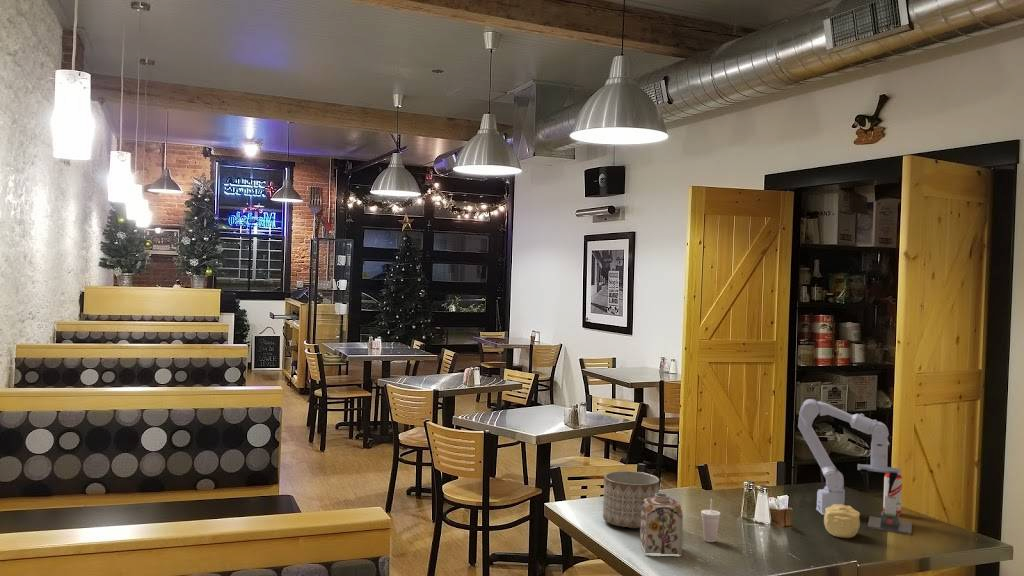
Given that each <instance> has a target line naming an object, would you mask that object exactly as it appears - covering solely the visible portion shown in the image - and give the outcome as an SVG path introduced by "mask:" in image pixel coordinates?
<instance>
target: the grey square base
mask: <svg viewBox="0 0 1024 576" xmlns="http://www.w3.org/2000/svg"><path fill="white" fill-rule="evenodd" d="M912 523H913V522H909V521H903V520H900V514H899V513H896V517H895V516H889V515H884V511H883V510H881V513H880V517H877V516H873V515H870V516H869V518H868V522H867V529H869V530H876V531H883V532H888V531H889V532H890V533H894V532H897V533H896V534H900V533H904V534H903V535H906V534H910V535H909V536H912V526H913V524H912ZM889 532H888V533H889Z"/></svg>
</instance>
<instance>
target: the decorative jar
mask: <svg viewBox="0 0 1024 576" xmlns="http://www.w3.org/2000/svg"><path fill="white" fill-rule="evenodd" d="M683 515H684V514H683V509H682V506H681V503H680V501H679V500H677V499H674V498H671V497H670V495H669V494H667V493H664V492H659V493H656V494H655V497H649V498H646V499H644V500H643V502H642V504H641V526H640V528H639V535H640V536H639V542H640V541H641V543H642V546H643V548H644V550H645V553H661V554H679V555H683V518H684V516H683Z"/></svg>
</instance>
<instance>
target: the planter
mask: <svg viewBox="0 0 1024 576" xmlns="http://www.w3.org/2000/svg"><path fill="white" fill-rule="evenodd" d="M656 493H660V478H659V477H658V476H656V475H654V474H650V473H646V472H642V471H641V472H640V471H633V470H617V471H610V472H607V473H605V474H604V475H603V500H602V501H603V502H602V503H603V506H602V507H603V508H602V518H603V520H604V521H605V522H606V523H608V524H611V525H614V526H617V527H620V526H621V528H624V527H629V528H628V529H640V526H641V504H642V502H643V500H644V499H646V498H649V497H655V494H656Z"/></svg>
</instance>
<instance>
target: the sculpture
mask: <svg viewBox="0 0 1024 576" xmlns="http://www.w3.org/2000/svg"><path fill="white" fill-rule="evenodd" d="M825 511H826V513H825V515H823V524H824V527H825V530H826V531H827V532H828V534H830V535H831V536H833V537H837V538H843V539H851V538H853V537H855V536H856V535H857V534H858V532H859V529H860V525H861V519H860V515H861V513H860V512H859V511H858V510H856V509H855V508H853V507H852V506H851V505H845V504H844V505H843V504H841V505H837V504H833V505H832V506H830V507H828V508H826V509H825Z"/></svg>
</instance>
